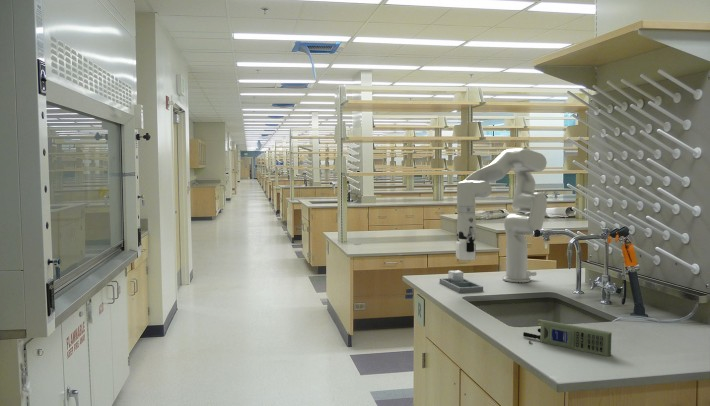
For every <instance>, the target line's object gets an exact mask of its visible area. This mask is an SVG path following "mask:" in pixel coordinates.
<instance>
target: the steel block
mask: <svg viewBox="0 0 710 406" xmlns="http://www.w3.org/2000/svg"><path fill="white" fill-rule="evenodd" d="M447 278H448V282H450V283H457V282H463V278H464V271H461V270H459V269H457V270H448V277H447Z"/></svg>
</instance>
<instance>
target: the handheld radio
mask: <svg viewBox="0 0 710 406" xmlns="http://www.w3.org/2000/svg"><path fill="white" fill-rule="evenodd" d="M537 321H539V322H538V327H539V326H540V328H537V333H539V335H538V334H535V333H532V332H531V333H530V332H525V331H523V334H522V336H523V337H527V338H531V339H535V340H536V339H537V340H540V341H539V342H540V343H543V344H547V345H553V346H557V347H562V348H567V349H572V350H576V351H581V352H586V353H589V354H595V355H599V356H605V357H610V356H611V355H612V331H606V330H599V329H595V328H589V327H583V326H579V325H572V324H566V323H562V322H555V321H550V320H546V319H545V320H544V319H537Z"/></svg>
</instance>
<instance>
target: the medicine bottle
mask: <svg viewBox="0 0 710 406" xmlns="http://www.w3.org/2000/svg"><path fill="white" fill-rule="evenodd" d="M469 239H470V238H469ZM467 243H468V242H467V238H466V237H465V236H464V234H463V232H459V241H458V240H457V241H456V242H455V258H456V259H458V261H475V260H477V259H476V257H477V256H476V255H477V253H476V250H477V246H476V245H477V244H476V242H474V252H467Z"/></svg>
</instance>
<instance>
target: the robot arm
mask: <svg viewBox="0 0 710 406" xmlns="http://www.w3.org/2000/svg"><path fill="white" fill-rule="evenodd" d="M547 163H548V161H547V158H546V157H545V155H544V154H542V153H540V152H537V151H534V150H532V149H527V148H520V147H519V148H508V149H505V150H503V151H502V152H501V153H500V154H499V155H498V156H496V158H495V159H493V160H492V161H491V163H489V164H488V165H485V166H483V167H482V168H480V169H477V170H476V171H473V172H472V173H471V174H469V175H468V176H467V177H466V178H465V179H464V180H462V181H458V183H457V185H456V214H457V218H456V230H455V231H456V237H457V238H456V239H457V241H459V232H463V234H464V236H465V237H466V238H467V242H468V243H467V252H474V243H476V241H475V240H476V236H477V221H476V199H485V198H488V197H489V196H490V195H491V193H492V192H493V190H492V188H493V187H492V185H491V184H490V183H493V182H498V181H500V180H502V179H504V177H505V176H506V175H508V173H509V172H510V171H512V170H513V173H514V175H515V177H516V186H515V190H514V194H513V199H512V209H513V210H515V211H517V212H519V213H510V214H508V215H507V216H505V218H504V220H503V221H504V223H503V225H504V226H503V227H504V231H505V237H506V238H505V239H506V240H505V241H506V242H505V244H506V249H505V250H506V251H505V252H506V253H505V256H506V257H505V262H506V264H505V267H506V268H505V275H504V276H502V280H503V281H504V282H509V283H510V282H511V283H518V282H519V283H521V282H522V283H528V282H531V276H532V277H535V276H537V271H529V270H528V240H527V238H526V236H534V235H533V231H534V230H536V229H541V230H542V228H543V226H544V221H545V217H546V212H547V207H548V201H547V197H546V196H545V194H544V193H542V192H537V191H535V189H536V181H535V178H534V176H533V174H532V173H540V172H542V171H544V170H545V168H547V165H548V164H547ZM520 212H521V213H520ZM526 213H527V214H526ZM528 213H529V214H528ZM469 238H470V239H469ZM522 283H521V284H522Z"/></svg>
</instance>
